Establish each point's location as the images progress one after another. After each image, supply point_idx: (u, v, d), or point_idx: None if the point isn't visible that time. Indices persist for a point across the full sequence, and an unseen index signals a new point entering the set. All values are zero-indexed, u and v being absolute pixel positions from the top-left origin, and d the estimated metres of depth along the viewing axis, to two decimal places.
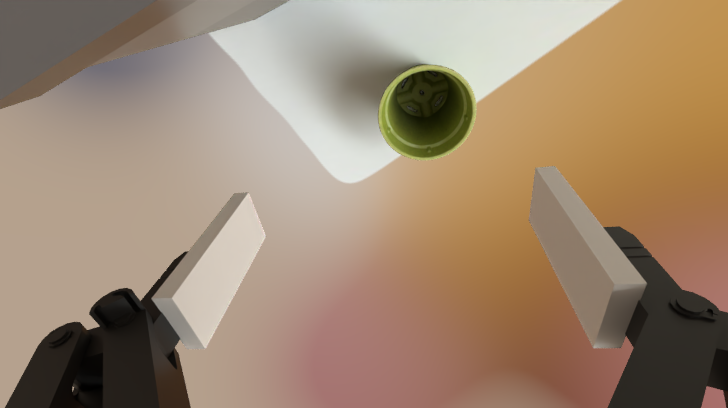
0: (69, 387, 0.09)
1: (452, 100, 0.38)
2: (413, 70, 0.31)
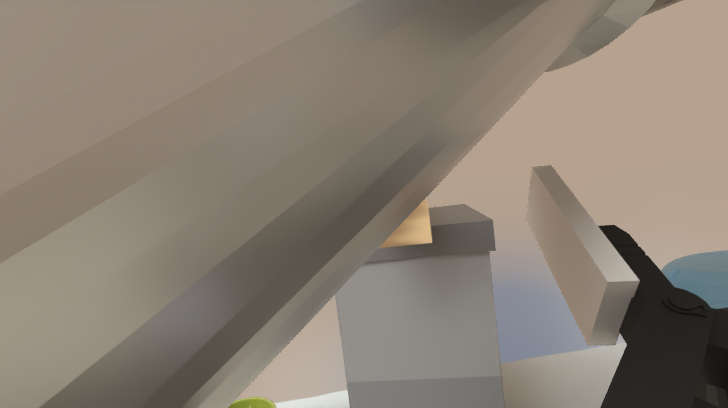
0: None
1: None
2: None
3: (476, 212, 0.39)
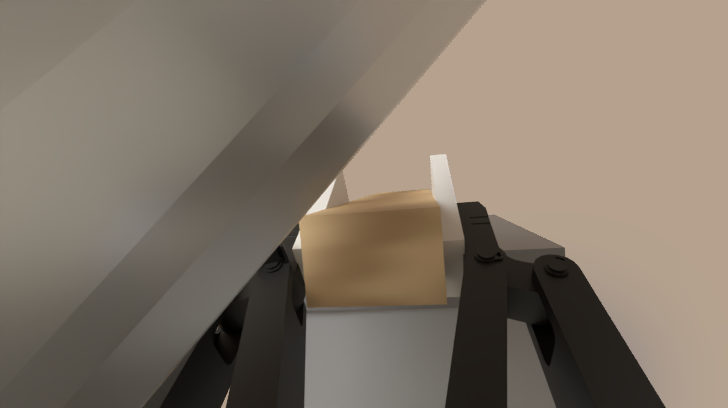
0: (212, 333, 0.10)
1: None
2: None
3: (521, 229, 0.24)
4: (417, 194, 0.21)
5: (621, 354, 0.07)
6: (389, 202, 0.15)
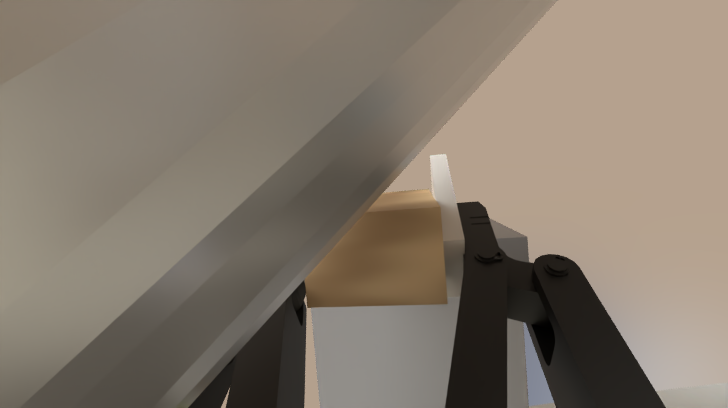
0: None
1: None
2: None
3: (501, 226, 0.31)
4: (417, 194, 0.21)
5: (620, 354, 0.07)
6: (389, 202, 0.15)
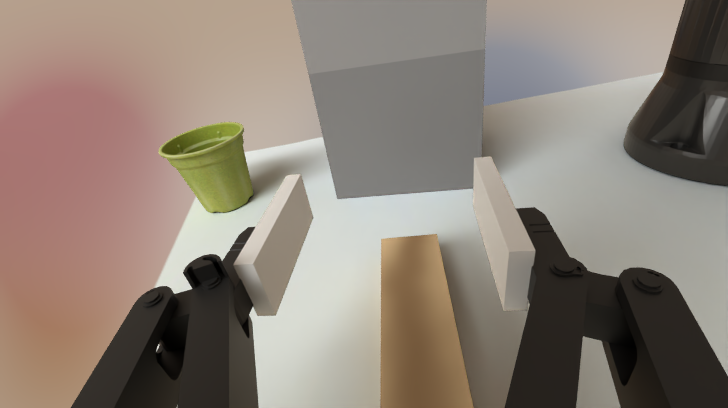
0: (153, 350, 0.10)
1: None
2: (237, 133, 0.38)
3: None
4: (443, 338, 0.20)
5: (719, 387, 0.07)
6: None
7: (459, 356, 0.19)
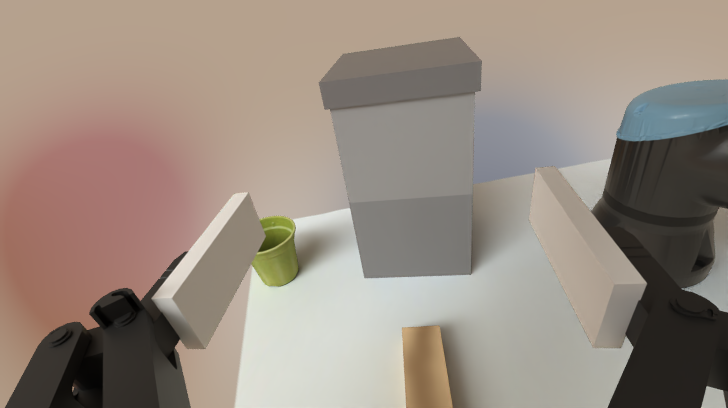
0: (70, 387, 0.09)
1: None
2: (292, 232, 0.52)
3: (468, 50, 0.40)
4: None
5: None
6: None
7: None
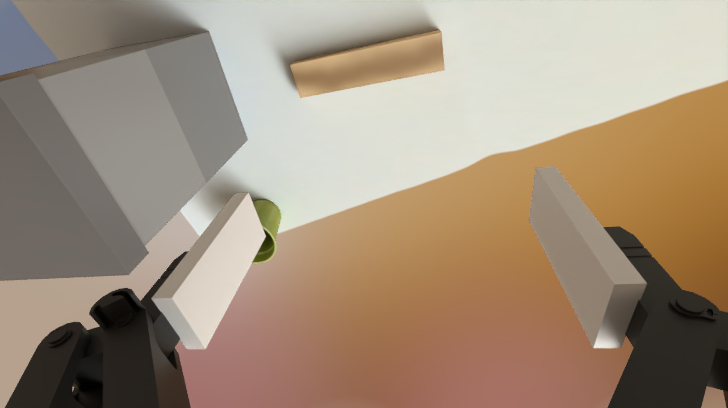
0: (70, 387, 0.09)
1: (278, 226, 0.62)
2: None
3: None
4: (360, 56, 0.45)
5: None
6: (408, 56, 0.44)
7: (368, 49, 0.44)
